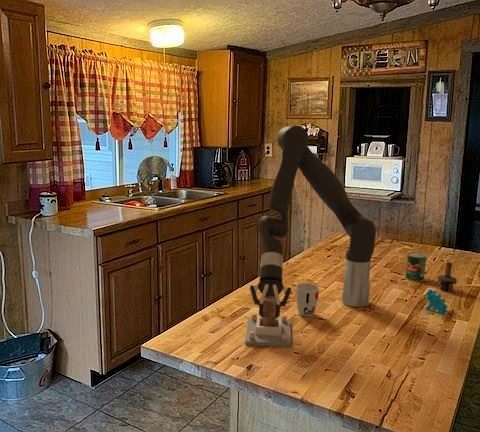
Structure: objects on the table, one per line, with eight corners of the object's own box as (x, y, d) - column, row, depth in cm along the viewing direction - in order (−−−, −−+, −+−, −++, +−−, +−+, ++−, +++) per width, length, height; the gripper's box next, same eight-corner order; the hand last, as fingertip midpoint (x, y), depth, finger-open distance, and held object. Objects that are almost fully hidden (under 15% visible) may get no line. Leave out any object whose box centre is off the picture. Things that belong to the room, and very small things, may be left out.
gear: (438, 314, 176) (424, 289, 180) (426, 322, 180) (412, 297, 184) (454, 311, 183) (440, 287, 187) (442, 319, 186) (428, 295, 191)
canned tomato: (404, 280, 217) (406, 255, 215) (405, 274, 224) (408, 251, 222) (423, 282, 214) (426, 258, 212) (424, 277, 221) (427, 253, 219)
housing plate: (289, 323, 169) (290, 312, 168) (291, 347, 151) (291, 336, 151) (248, 320, 170) (248, 310, 169) (245, 344, 152) (245, 333, 152)
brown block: (275, 325, 162) (276, 296, 160) (274, 330, 158) (276, 301, 156) (262, 324, 162) (263, 295, 160) (262, 330, 159) (263, 300, 156)
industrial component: (455, 294, 201) (459, 266, 198) (436, 291, 204) (439, 263, 201) (455, 287, 209) (458, 260, 207) (436, 284, 212) (440, 257, 210)
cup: (303, 319, 172) (304, 292, 170) (290, 311, 179) (291, 284, 177) (322, 315, 176) (323, 289, 174) (308, 307, 183) (310, 281, 181)
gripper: (250, 262, 164) (246, 311, 155) (293, 264, 163) (292, 314, 154) (250, 272, 170) (247, 320, 161) (292, 274, 169) (291, 322, 160)
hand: (269, 316), depth 158 cm, fingers closed on brown block, 4 cm apart
